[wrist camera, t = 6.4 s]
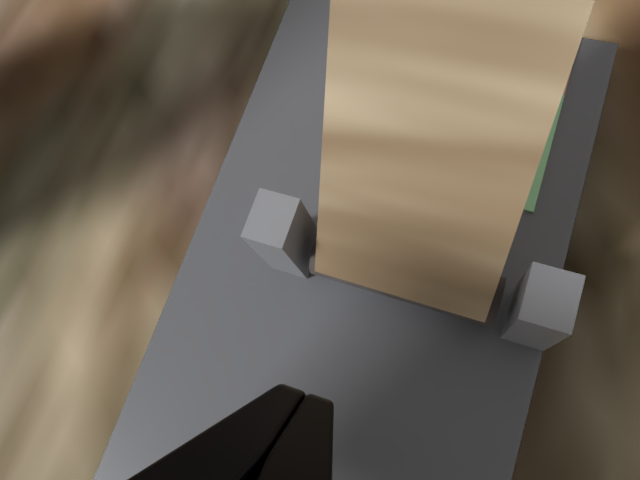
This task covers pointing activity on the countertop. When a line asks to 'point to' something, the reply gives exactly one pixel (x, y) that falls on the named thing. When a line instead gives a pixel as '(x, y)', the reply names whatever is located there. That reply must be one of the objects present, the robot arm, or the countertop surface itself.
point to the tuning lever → (436, 142)
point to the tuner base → (353, 299)
